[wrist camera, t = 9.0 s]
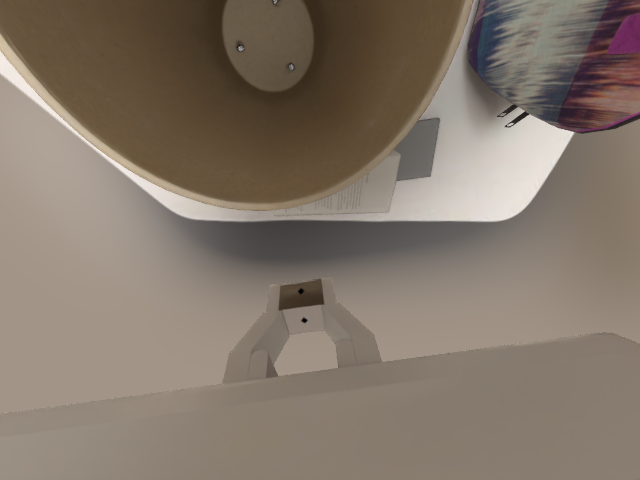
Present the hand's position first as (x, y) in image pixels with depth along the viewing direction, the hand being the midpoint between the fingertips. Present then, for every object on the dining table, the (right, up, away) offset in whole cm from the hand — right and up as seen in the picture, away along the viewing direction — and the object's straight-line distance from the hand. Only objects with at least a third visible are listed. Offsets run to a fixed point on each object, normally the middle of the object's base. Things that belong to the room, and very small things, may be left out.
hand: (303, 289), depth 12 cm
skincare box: (-4, +8, +12) cm, 15 cm away
